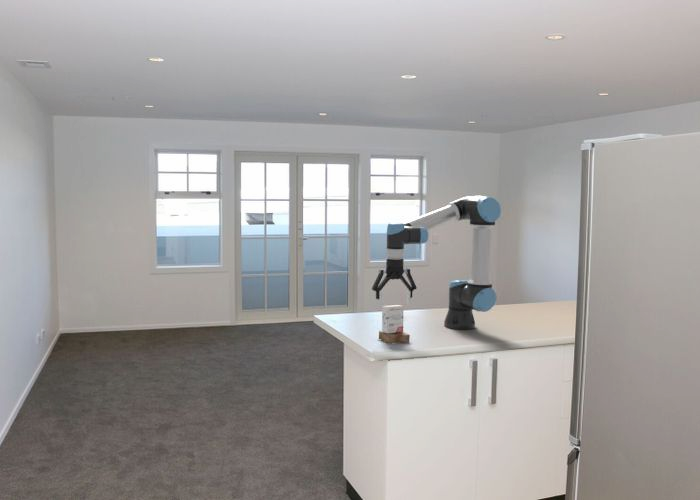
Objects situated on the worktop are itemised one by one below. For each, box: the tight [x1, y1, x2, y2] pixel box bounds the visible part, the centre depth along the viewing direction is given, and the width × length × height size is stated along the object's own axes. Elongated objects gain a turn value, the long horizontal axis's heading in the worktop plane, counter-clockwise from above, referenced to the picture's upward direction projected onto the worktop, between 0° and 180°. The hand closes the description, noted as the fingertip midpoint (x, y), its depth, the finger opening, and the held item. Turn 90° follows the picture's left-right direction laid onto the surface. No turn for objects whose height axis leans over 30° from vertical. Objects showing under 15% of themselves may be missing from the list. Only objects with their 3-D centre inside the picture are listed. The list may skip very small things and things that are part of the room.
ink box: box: [381, 304, 404, 333], centre depth 299 cm, size 9×5×12 cm, turn 120°
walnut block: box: [378, 330, 411, 345], centre depth 299 cm, size 10×10×4 cm
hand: (393, 305), depth 299 cm, fingers open, 13 cm apart
